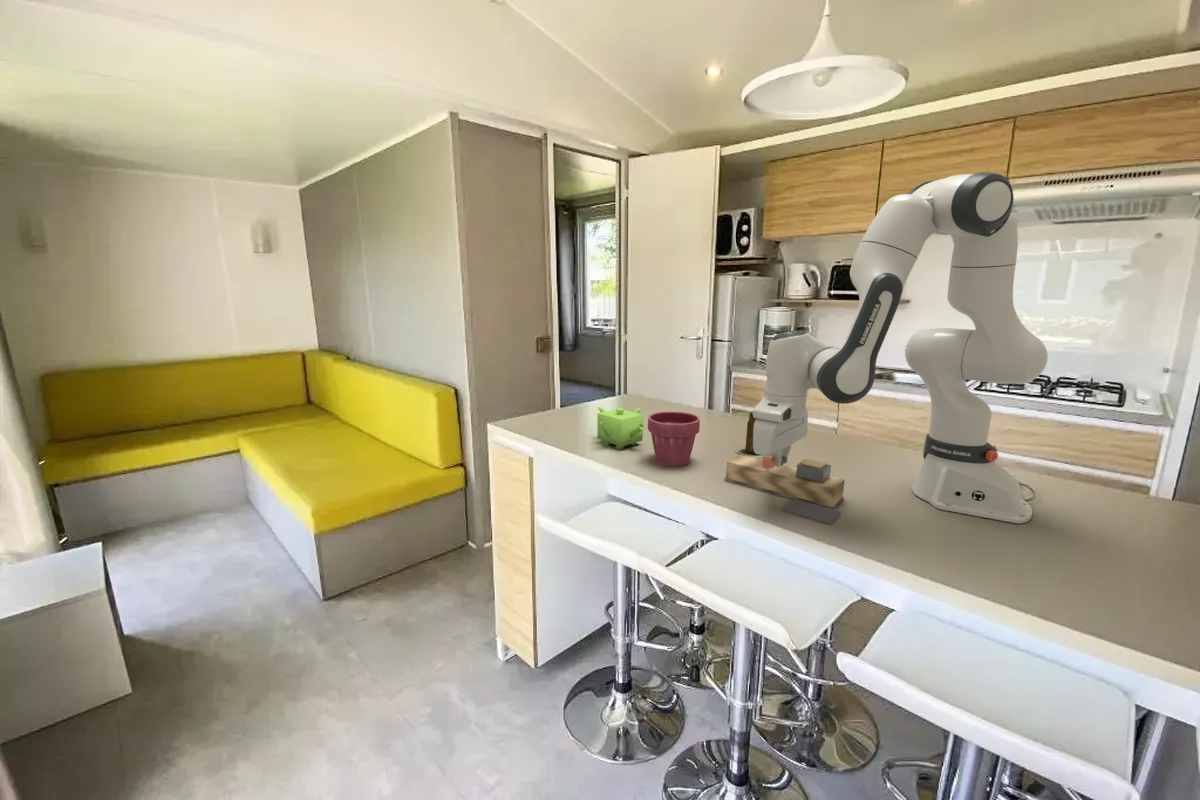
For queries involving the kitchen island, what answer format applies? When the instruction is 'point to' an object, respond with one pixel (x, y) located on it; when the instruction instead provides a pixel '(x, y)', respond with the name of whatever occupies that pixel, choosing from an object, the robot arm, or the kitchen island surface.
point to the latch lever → (768, 462)
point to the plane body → (784, 482)
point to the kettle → (620, 427)
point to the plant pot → (673, 436)
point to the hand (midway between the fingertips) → (779, 464)
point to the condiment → (750, 439)
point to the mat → (812, 511)
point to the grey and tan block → (813, 471)
